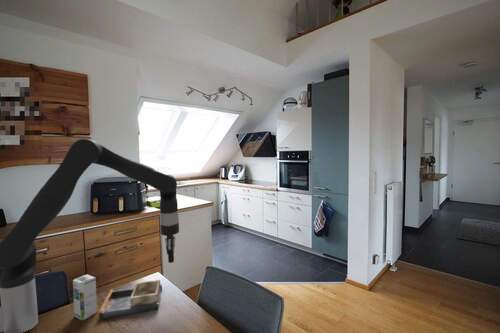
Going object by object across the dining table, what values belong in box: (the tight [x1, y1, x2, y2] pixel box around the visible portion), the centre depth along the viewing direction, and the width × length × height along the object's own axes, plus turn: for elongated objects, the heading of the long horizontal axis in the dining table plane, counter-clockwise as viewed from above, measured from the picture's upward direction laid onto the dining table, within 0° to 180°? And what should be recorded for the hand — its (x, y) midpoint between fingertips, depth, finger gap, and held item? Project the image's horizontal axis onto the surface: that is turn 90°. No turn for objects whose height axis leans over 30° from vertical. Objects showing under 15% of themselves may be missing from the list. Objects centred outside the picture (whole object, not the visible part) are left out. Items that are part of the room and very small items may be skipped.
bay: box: [98, 283, 163, 320], centre depth 103 cm, size 21×15×3 cm
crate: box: [130, 279, 161, 307], centre depth 105 cm, size 10×12×5 cm
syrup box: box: [72, 274, 98, 321], centre depth 96 cm, size 6×6×14 cm
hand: (171, 261), depth 106 cm, fingers closed
